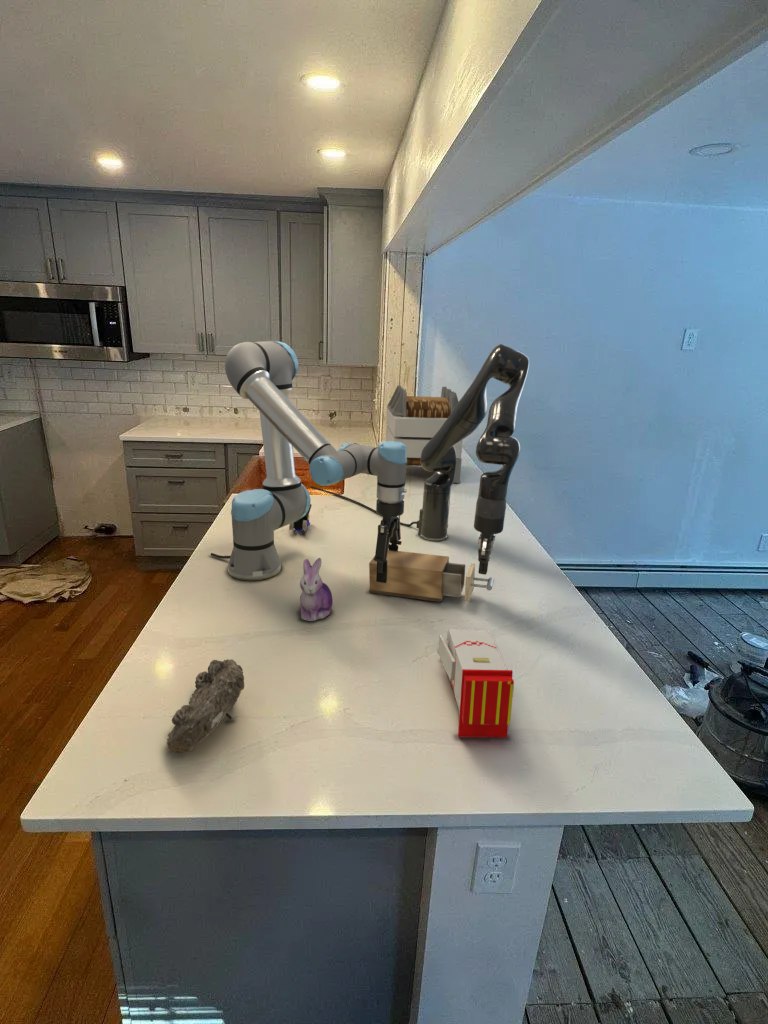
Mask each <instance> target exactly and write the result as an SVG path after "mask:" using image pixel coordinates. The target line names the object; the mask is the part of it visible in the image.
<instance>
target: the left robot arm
mask: <svg viewBox="0 0 768 1024" xmlns="http://www.w3.org/2000/svg"><path fill="white" fill-rule="evenodd" d="M224 369H225V370H224V371H225V375H226V378H227V380H228V382H229V384H230V386H231V387H232V388H233V389H234V391H235V392H236V393H237V394H238V395H239V397H240V398H242V399H244V400H248V401H250V403H252V404H253V406H254V407H255V408H256V409H257V410H258V411H259V418H260V427H261V437H262V445H263V454H264V455H263V456H264V463H265V464H264V465H265V472H266V478H265V479H264V480H263V481H262V484H261V485H262V488H253V489H246V490H243V491H241V492H239V493H237V494H236V495H235V496H233V498H232V501H231V508H230V509H231V510H230V516H231V528H232V529H231V530H232V543H233V546H232V550H231V553H230V555H219V554H217V553H213V552H211V553H210V556H211V557H213V558H217V559H221V560H225V559H229V560H228V563H227V571H228V574H229V575H230V576H231V577H233V578H234V579H238V580H241V581H251V582H252V581H262V580H266V579H267V580H268V579H270V578H273V577H275V576H277V574H279V573H280V572H281V570H282V562H281V558H280V557H279V554H278V551H277V549H276V546H275V531H276V530H279V529H281V528H283V527H286V526H289V524H290V523H293V522H296V521H298V520H299V519H300V518H302V517H304V516H305V515H306V513H307V512H308V510H309V508H310V504H311V495H310V492H309V489H307V487H306V486H305V485H304V484H303V483H302V479H301V478H300V476H298V475H297V474H296V466H295V457H294V455H295V454H294V449H295V451H297V452H298V454H299V455H300V456H301V457H302V458H303V459H304V460H305V461H306V462H307V463H308V464H309V468H308V469H309V471H308V472H309V475H310V477H311V479H312V481H313V482H314V483H315V484H316V485H318V486H321V487H328V486H332V485H336V484H338V483H339V482H342V481H344V480H346V479H349V478H352V477H354V476H357V475H360V474H365V475H368V476H369V475H371V476H376V479H377V481H376V502H375V504H376V505H375V510H376V512H377V513H378V514H377V513H376V514H377V515H379V516H381V517H382V519H381V520H380V522H379V523H380V524H378V526H377V537H376V545H375V552H374V553H375V554H374V556H375V558H374V557H373V558H374V560H375V561H377V575H376V582H382V583H386V581H387V560H386V558H387V553H388V550H393V551H399V546H401V545H402V541H401V539H402V537H401V525H400V522H401V516H403V514H404V513H405V500H404V499H405V494H406V493H408V492H407V491H408V489H406V476H407V475H406V474H407V465H406V463H407V448H406V446H405V445H404V444H403V443H401V442H396V441H385V440H384V441H381V442H380V443H379V444H378V447H376V446H370V445H366V444H360V443H357V442H343V444H341V446H340V447H339V448H338V449H336V448H335V447H334V446H333V445H332V444H331V443H330V442H329V440H328V439H326V438H325V437H324V435H323V434H322V433H321V432H320V431H319V430H318V429H317V428H316V427H315V426H314V425H313V424H312V423H311V422H310V421H309V420H308V419H307V418H306V416H305V415H304V414H303V413H302V412H301V411H300V410H299V409H298V408H297V407H296V406H295V405H294V404H293V402H291V400H290V399H289V394H290V393H291V392H292V391H293V380H294V379H295V378H296V377H297V374H298V372H299V359H298V357H297V354H296V352H295V351H294V349H293V348H291V346H290V345H288V344H287V343H285V342H283V341H276V340H265V341H243V342H240V343H237V344H235V345H233V347H232V348H231V349H230V350H229V351H228V353H227V355H226V357H225V361H224Z"/></svg>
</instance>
